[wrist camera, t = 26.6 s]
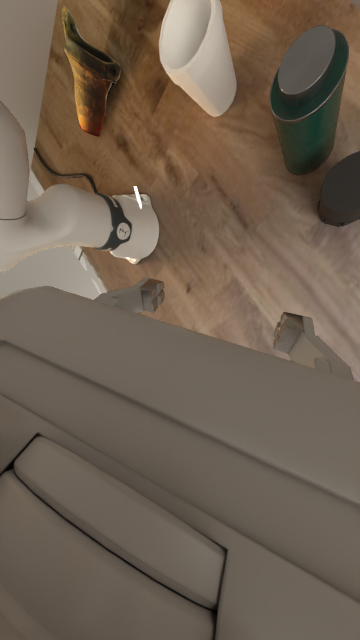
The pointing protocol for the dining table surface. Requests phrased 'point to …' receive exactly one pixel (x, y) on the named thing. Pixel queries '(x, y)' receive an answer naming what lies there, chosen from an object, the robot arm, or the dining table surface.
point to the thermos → (309, 97)
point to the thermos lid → (341, 193)
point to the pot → (88, 76)
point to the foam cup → (198, 53)
